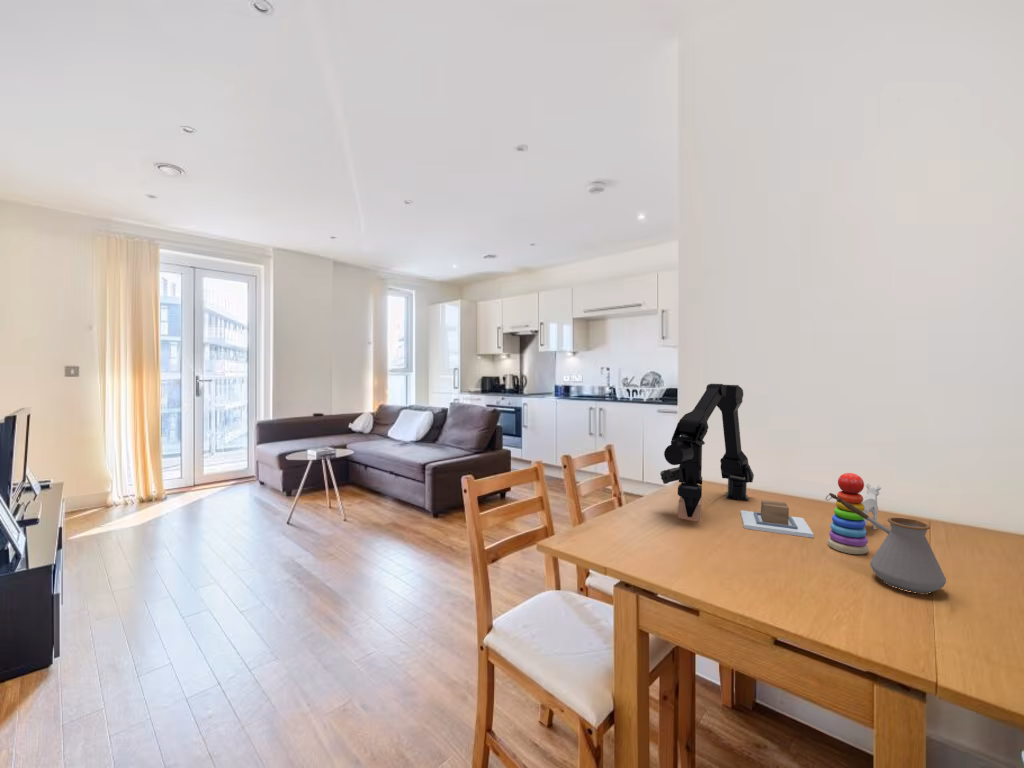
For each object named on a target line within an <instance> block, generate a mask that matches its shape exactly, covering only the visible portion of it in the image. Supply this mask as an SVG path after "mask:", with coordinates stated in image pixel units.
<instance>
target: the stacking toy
mask: <svg viewBox="0 0 1024 768" xmlns="http://www.w3.org/2000/svg"><path fill="white" fill-rule="evenodd" d="M837 486H838V487H839V489H840V491H838V492H837V494H836V496H837V497H838V498H842V500H844V501H846V502H848V503H850V504H852V505H853V506H855V507H856V508H858V509H859V510H861V511H862V512H863V510H864V508H865V507H864V505H863V504H862V503H861V502H862V501H863V497H862V496H863V495H861V492H863V490H864V487H865V482H864V480H863V478H862V477H861V476H860V475H859V474H856V473H852V472H846V473H843V474H841V475H840V476H839V477H838V480H837ZM835 506H836V507H835V508H834V510H833V511H834V512H833V513H834V514H833V515H832V517H831V520H832V522H831V523H830V531H829V537H828V538H827V545H829V547H830V548H831V549H834V550H836V551H838V552H841V553H846V554H849V555H865V554H867V553H868V552H869V547H868V545H867V544H868V542H869V541H868V538H867V532H868V531H867V530H866V528H865V527H866V526H867V524H866V523H865V521H864V520H863V519H864V518H863V517H861V516H859V515H858V514H856V513H854V512H853V511H851V510H849V509H848V508H846V507H845V506H844V505H843V504H842V503H841V502H837V500H836V501H835ZM863 513H864V512H863Z"/></svg>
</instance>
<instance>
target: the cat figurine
mask: <svg viewBox="0 0 1024 768" xmlns="http://www.w3.org/2000/svg"><path fill="white" fill-rule="evenodd" d="M865 487H866V489H867V490H866V495H862V497H863V501H862V502H861V503H862V504H863V505H864V507H865V508H864V510H863V512H864V513H865V514H866V515H868V516H869V513H870V512H871V514H872V519H873V520H875V521H877V522H878V513H879V506H878V496H879V495H880V490H882V487H881V486H880V485H879V484H878V486H877V487H873V486H871V485H870V483H869V482H868V483H867V484H865ZM863 520H864V521H865V523H866V525H867V524H868V520H866V519H865V518H864V519H863ZM872 525H873V526H872V527H873V528H872V529H873V530H874V531H875V530H877V529H878V527H877V526H876V525H874V524H873V523H872Z"/></svg>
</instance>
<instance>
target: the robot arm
mask: <svg viewBox="0 0 1024 768" xmlns="http://www.w3.org/2000/svg"><path fill="white" fill-rule="evenodd" d="M743 398H744V389H743V388H742V387H741V386H740V385H739V384H724V383H708V384H707V385H706V387H705V391H704V393H703V394H702V396H701V397H700V399H699V400H698V402H697V404H695V407H694V408H693V409H692V410H691V411H690V412H689V411H688V412H687V413H685V414H684V415H683V416H682V417H681V418H680V419H679V420H678V422H677V424H676V427H675V430H674V432H673V435H672V436H671V441H670V445H668V446H667V447H666V448H665V449H664V451H663V456H664V458H665V460H666V462H667V463H668V464H669V465H672V466H677V467H673V468H668V469H664V470H661V471H660V479H661V480H662V484H664V485H666V484H669V483H671V482H676V481H678V483H680V484H678V485H677V495H678V496H679V498H680V497H682V498H683V499H684V502H685V507H686V512H687V516H688V517H692V515H693V513H694V511H695V509H696V507H697V505H698V503H699V501H700V499H702V496H703V495H702V493H703V489H702V487H703V486H702V485H703V476H702V469H703V468H702V467H703V466H702V463H703V462H702V460H703V445H705V444H706V443H705V441H704V439H705V437H706V435H707V433H708V429H709V424H708V421H709V419H710V417H711V415H712V413H713V412H714V411H715V409H716V407H717V408H718V409H719V410H720V411H721V419H722V431H723V439H724V450H725V452H724V454H723V456H722V458H720V473H721V478H722V479H727V492H725V495H726V499H731V500H740V501H749V497H748V494H747V487H748V486H747V485H748V483H753V482H754V475H755V474H754V472H753V470H752V468H751V466H750V464H749V460H748V457H747V456H746V454H745V453H744V452H743V450H742V444H741V443H742V442H741V440H742V439H741V431H740V429H741V428H740V419H739V408H740V407H741V405H742V403H743ZM678 465H679V466H678Z"/></svg>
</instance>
